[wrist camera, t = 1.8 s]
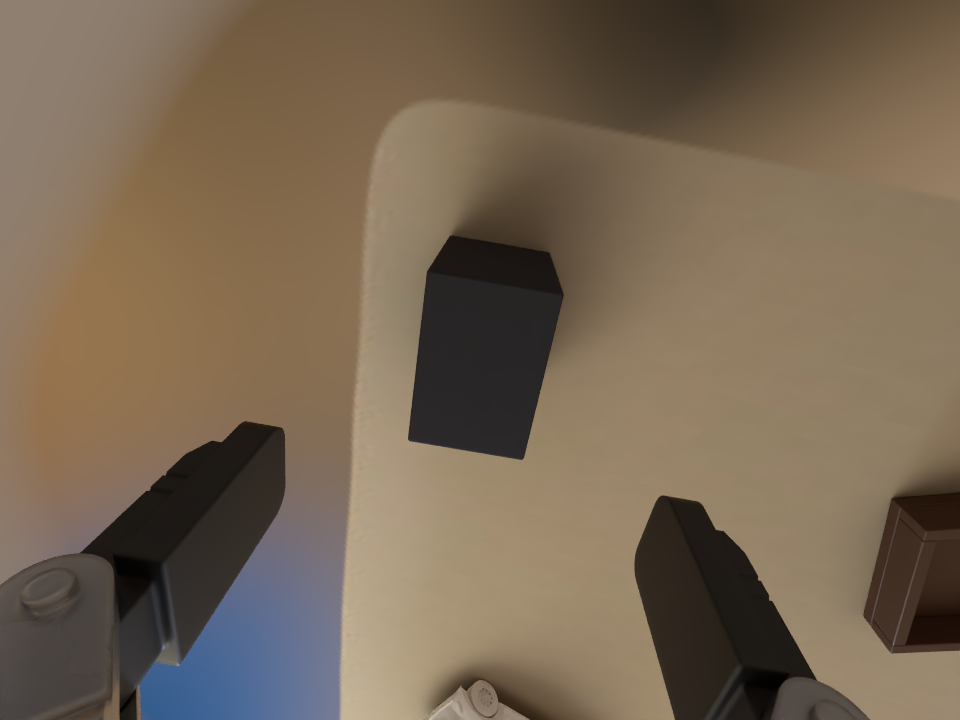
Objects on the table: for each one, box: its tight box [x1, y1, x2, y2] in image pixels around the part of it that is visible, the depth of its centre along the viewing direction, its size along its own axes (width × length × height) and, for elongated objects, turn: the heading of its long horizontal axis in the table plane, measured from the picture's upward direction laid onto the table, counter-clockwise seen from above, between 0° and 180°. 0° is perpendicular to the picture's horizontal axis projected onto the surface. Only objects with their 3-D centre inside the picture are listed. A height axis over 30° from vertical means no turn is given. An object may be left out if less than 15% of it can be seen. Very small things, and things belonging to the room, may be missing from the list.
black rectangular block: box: [408, 236, 564, 460], centre depth 17 cm, size 4×6×6 cm, turn 171°
